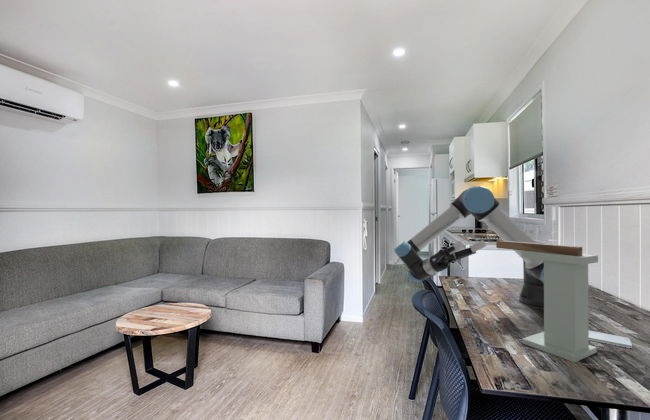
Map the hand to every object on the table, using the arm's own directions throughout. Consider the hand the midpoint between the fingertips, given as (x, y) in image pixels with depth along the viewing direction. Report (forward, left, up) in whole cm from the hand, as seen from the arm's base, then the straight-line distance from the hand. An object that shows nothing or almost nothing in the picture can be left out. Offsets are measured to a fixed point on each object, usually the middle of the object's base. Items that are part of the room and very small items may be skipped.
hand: (473, 243), depth 119 cm
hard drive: (-9, +38, -30) cm, 49 cm away
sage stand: (+9, +27, -29) cm, 41 cm away
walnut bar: (+8, +21, 0) cm, 23 cm away
